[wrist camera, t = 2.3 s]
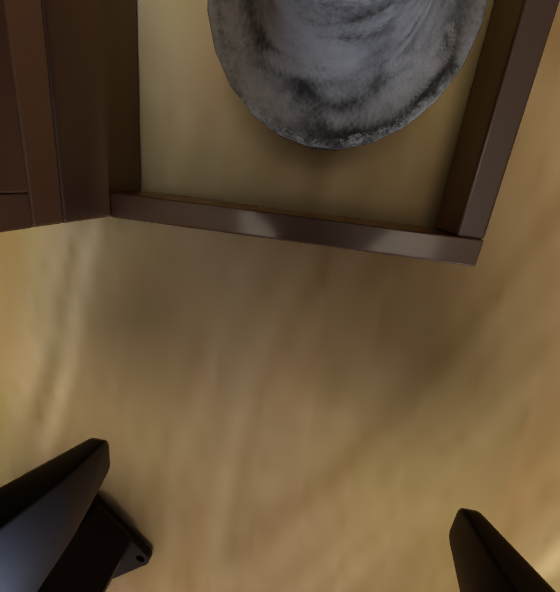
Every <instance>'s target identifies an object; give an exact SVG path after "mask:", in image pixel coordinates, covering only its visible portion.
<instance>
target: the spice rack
mask: <svg viewBox="0 0 560 592" xmlns="http://www.w3.org/2000/svg"><path fill="white" fill-rule="evenodd" d="M558 3H559V0H495V4H494V8H493V12H492V15H491V19H490V23H489V27H488V30H487V34H486V38H485V42H484V45H483V49H482V53H481V57H480V60H479V64H478V68H477V72H476V75H475V79H474V83H473V87H472V90H471V94H470V98H469V102H468V105H467V109H466V113H465V117H464V120H463V124H462V128H461V132H460V135H459V139H458V143H457V146H456V150H455V154H454V158H453V161H452V165H451V169H450V173H449V176H448V180H447V184H446V188H445V191H444V195H443V199H442V203H441V206H440V210H439V214H438V218H437V221H436V225H435V228H436V229H433V228H426V227H418V226H410V225H402V224H394V223H387V222H379V221H371V220H363V219H355V218H348V217H340V216H332V215H324V214H316V213H309V212H301V211H293V210H285V209H277V208H270V207H262V206H254V205H246V204H238V203H231V202H223V201H215V200H207V199H199V198H192V197H184V196H176V195H168V194H160V193H153V192H145V191H140V156H139V113H138V69H137V25H136V0H0V232H5V231H12V230H20V229H27V228H31V227H38V226H45V225H53V224H59V223H67V222H74V221H81V220H89V219H96V218H103V217H110V216H111V217H114V218H121V219H129V220H136V221H144V222H151V223H158V224H166V225H173V226H181V227H188V228H196V229H203V230H210V231H218V232H225V233H233V234H240V235H247V236H255V237H262V238H270V239H277V240H284V241H292V242H299V243H307V244H314V245H321V246H329V247H336V248H344V249H351V250H358V251H366V252H373V253H381V254H388V255H395V256H403V257H410V258H418V259H425V260H432V261H440V262H447V263H455V264H462V265H469V266H475V265H476V262H477V259H478V256H479V253H480V249H481V246H482V243H483V240H481V239H483V238H484V236H485V233H486V230H487V226H488V223H489V220H490V217H491V214H492V211H493V208H494V204H495V201H496V198H497V195H498V192H499V189H500V186H501V182H502V179H503V176H504V173H505V170H506V167H507V164H508V160H509V157H510V154H511V151H512V148H513V145H514V142H515V138H516V135H517V132H518V129H519V126H520V123H521V120H522V116H523V113H524V110H525V107H526V104H527V101H528V98H529V94H530V91H531V88H532V85H533V82H534V79H535V76H536V73H537V69H538V66H539V63H540V60H541V57H542V54H543V51H544V47H545V44H546V41H547V38H548V35H549V32H550V29H551V25H552V22H553V19H554V16H555V13H556V10H557V7H558Z"/></svg>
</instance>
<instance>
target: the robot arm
mask: <svg viewBox="0 0 560 592" xmlns="http://www.w3.org/2000/svg"><path fill="white" fill-rule="evenodd" d="M109 467H110V458H109V444H108V442H107V441H106V440H103V439H97V438H91V439H88V440H86V441H85V442H83V443H81V444H79V445H77V446H75V447H74V448H72V449H70V450H68V451H66V452H64V453H63V454H61V455H59V456H57V457H55V458H53V459H52V460H50V461H48V462H46V463H44V464H43V465H41V466H39V467H37V468H35V469H33V470H32V471H30V472H28V473H26V474H24V475H22V476H21V477H19V478H17V479H15V480H13V481H11V482H10V483H8V484H6V485H4V486H2V487H0V592H105V591H106V589H107V588H108V586H109V584H110V582H111V580H112V579H113V578H115V577H118V576H120V575H123V574H125V573H127V572H130V571H132V570H134V569H137V568H139V567H141V566H144V565H146V564H147V563H148V562H149V560H150V558H151V556H152V550H151V548H150V547H149V546H148V545H147V544H146V543H145V542H144V541H143V540H142V539H141V538H140V537H139V536H138V535H137V534H136V533H134V532H133V531H132V530H131V529H130V528H129V527H128V526H127V525H126V524H125V523H124V522H123V521H122V520H121V519H120V518H119V517H118V516H117V515H116V514H115V513H114V512H113V511H112V510H111V509H110V508H109V507H108V506H107V505H106V504H105V503H104V502H103V501H102V500H101V499H100V498H99V497H98V496H97V495H96V494H97V492H98V490H99V488H100V486H101V484H102V483H103V481H104V479H105V477H106V475H107V473H108V471H109ZM449 540H450V546H451V551H452V555H453V560H454V565H455V570H456V574H457V579H458V584H459V589H460V592H555V590H554V589H553V588H552V587H551V586H550V585H549V584H548V583H547V582H546V581H545V580H544V579H543V578H542V577H541V576H540V575H539V574H538V573H537V572H536V571H535V570H534V568H533V567H532V566H531V565H530V564H529V563H528V562H527V561H526V560H525V559H524V558H523V557H522V556H521V555H520V554H519V553H518V552H517V551H516V550H515V549H514V548H513V547H512V545H511V544H510V543H509V542H508V541H507V540H506V539H505V538H504V537H503V536H502V535H501V534H500V533H499V532H498V531H497V530H496V529H495V528H494V527H493V526H492V525H491V524H490V522H489V521H488V520H487V519H486V518H485V517H484V516H483V515H482V514H481V513H479V512H478V511H475V510H470V509H465V508H461V509H459V510H458V512H457V514H456V517H455V519H454V522H453V524H452V527H451V529H450V533H449Z"/></svg>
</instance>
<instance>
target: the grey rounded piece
mask: <svg viewBox="0 0 560 592" xmlns="http://www.w3.org/2000/svg"><path fill="white" fill-rule="evenodd" d="M487 1H488V0H208V9H207V11H208V16H209V21H210V27H211V32H212V37H213V42H214V47H215V52H216V54H217V56H218V59H219V61H220V63H221V65H222V68H223V70H224V72H225V75H226V77H227V79H228V81H229V84H230V86H231V87H232V89H233V90H234V91H235V93H236V94H237V95H238V97H239V98H240V99H241V100H242V102H243V103H244V104H245V106H246V107H247V108H248V110H249V111H250V112H251V114H252V115H254V116H255V117H256V118H257V119H259V120H260V121H261V122H263V123H264V124H265V125H267V126H268V127H269V128H270V129H272V130H273V131H274V132H276V133H277V134H278V135H280V136H283V137H285V138H288V139H291V140H293V141H295V142H297V143H300V144H302V145H305V146H307V147H310V148H312V149H320V150H331V151H336V150H341V149H346V148H351V147H355V146H359V145H364V144H369V143H373V142H375V141H377V140H379V139H381V138H383V137H385V136H387V135H389V134H392V133H394V132H396V131H398V130H400V129H402V128H404V127H405V126H407V125H408V124H409V123H410V122H411V121H413V120H414V119H415V118H416V117H417V116H419V115H420V114H421V113H422V112H423V111H425V110H426V109H427V108H428V107H430V106H431V105H432V104H433V103H434V102H436V100H437V99H438V98H439V96H440V95H441V94H442V93H443V91H444V90H445V89H446V87H447V86H448V85H449V83H450V82H451V81H452V80H453V78H454V77H455V76H456V74H457V73H458V72H459V70H460V69H461V68H462V66H463V64H464V62H465V60H466V58H467V55H468V53H469V51H470V49H471V47H472V45H473V43H474V41H475V39H476V37H477V35H478V32H479V30H480V28H481V26H482V22H483V18H484V13H485V9H486V5H487Z"/></svg>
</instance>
